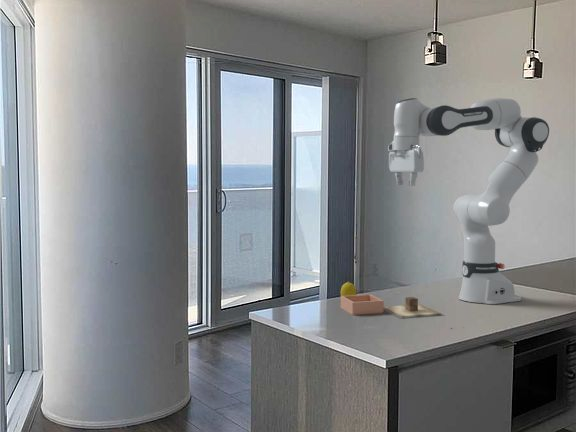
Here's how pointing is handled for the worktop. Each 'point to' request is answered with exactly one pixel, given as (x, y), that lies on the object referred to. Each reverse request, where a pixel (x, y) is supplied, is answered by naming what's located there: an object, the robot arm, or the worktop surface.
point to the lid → (411, 309)
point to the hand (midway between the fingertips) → (405, 185)
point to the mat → (411, 317)
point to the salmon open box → (362, 304)
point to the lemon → (348, 289)
